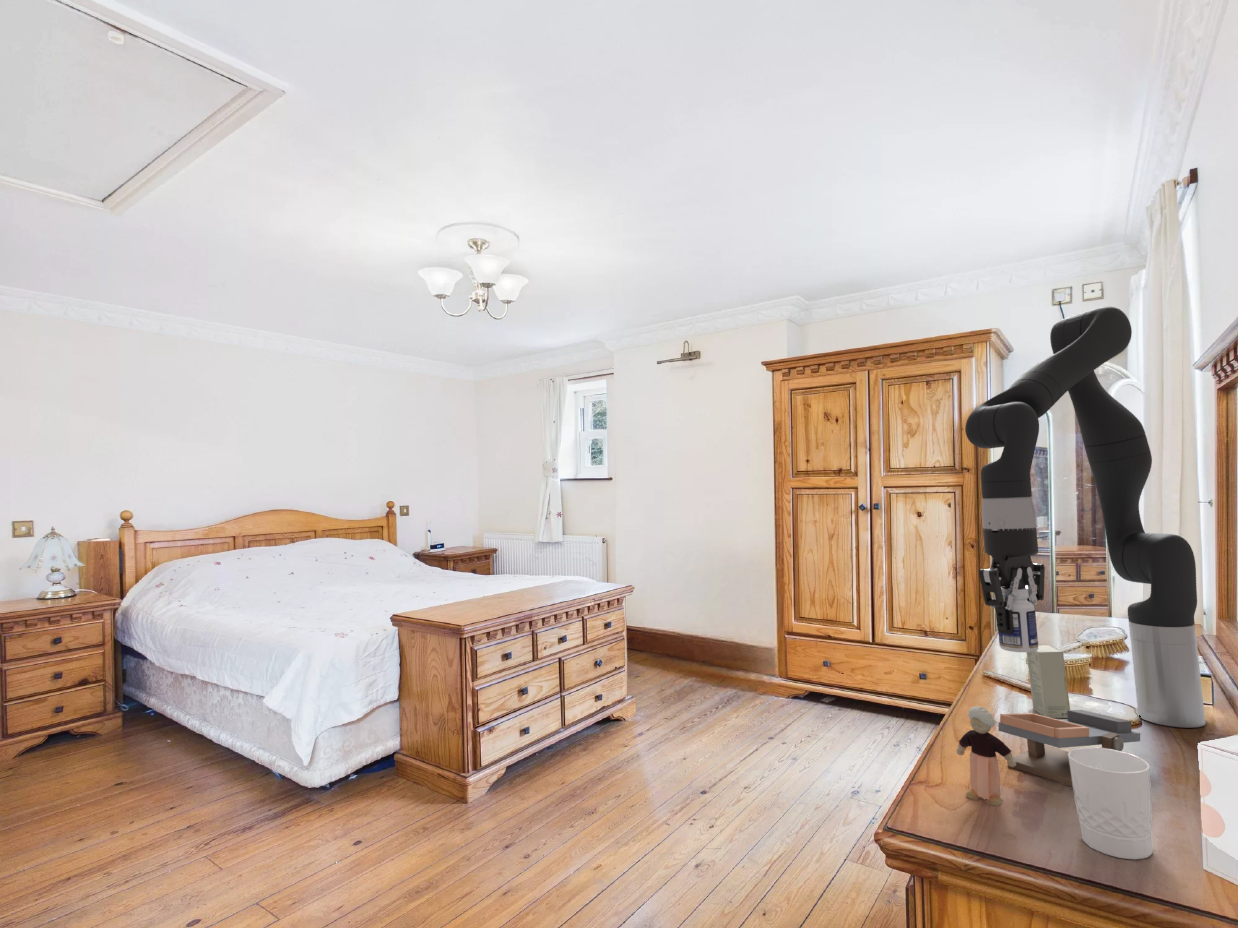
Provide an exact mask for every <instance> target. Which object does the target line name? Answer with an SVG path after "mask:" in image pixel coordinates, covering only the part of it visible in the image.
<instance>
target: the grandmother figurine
mask: <svg viewBox="0 0 1238 928" xmlns="http://www.w3.org/2000/svg"><path fill="white" fill-rule="evenodd" d="M967 716H968V718H969V720H970V726H971V730H968V731H967V732H966V733H964V735H963V736H962V737H961V738H960V739H959V740H958V744H957V748H956V754H957V755H958V756H964V755H965V751H966V750H967V748H968V747H971V751H970V754H969V774H970V775H969V777H970V778H969V781H970V783H969V784H970V789H968V790H967V791H966V792H965V797H966V798H968V799H970V800H980V799H983V800H984V802H985V803H986V804H987V805H991V806H994V807H995V806H996V807H997V806H1001V805H1002V802H1003V799H1002V797H1001V773H1000V767H999V760H998V757H997V754H999V755H1000V756H1001V757H1003V758H1004V760H1005V761H1007V762H1006V763H1007V766H1008V765H1009V766H1008V767H1011V768H1013V767H1015V766H1016V762H1015V761H1014V759H1013V757H1014V756H1013V754H1012V753H1011V752H1012V750H1011V749H1010V747H1008V746H1007V744H1005V743H1004V742H1003V741H1002V740H1001V739H999V737H996V736H995V735H994V734H991V732H990V731H991V730H992V728H993V727H994V726H995V725H996V724H997V721H996V720H995V717H994V716H993V714H992V713H991V712H990V711H989V710H987V709H986V708H985V707H983V706H972V707H970V708H969V710H968V715H967Z"/></svg>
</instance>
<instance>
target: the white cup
mask: <svg viewBox="0 0 1238 928" xmlns="http://www.w3.org/2000/svg"><path fill="white" fill-rule="evenodd" d="M1068 759H1069V765H1070V772H1071V779H1072V785H1073V787H1072V790H1073V798H1074V804H1075V807H1076V815H1077V817H1078V821H1079V825H1080V833H1081V838H1082V839H1081V840H1082V841H1083V842H1084V844H1086V845H1087V846H1089V847H1090V848H1091V849H1093V850H1094V851H1097V852H1099V853H1102V854H1104V855H1107V856H1112V857H1115V858H1119V859H1126V860H1143V859H1147V858H1148V857H1150V856H1151V855H1152V854H1153V840H1152V828H1153V817H1152V816H1153V815H1152V814H1153V809H1152V806H1153V805H1152V804H1153V803H1152V785H1151V767H1150V764H1149V762H1147V761H1146V760H1145V759H1143V758H1141V757H1140V756H1137V755H1134V754H1132V753H1129V752H1125V751H1123V750H1122V751H1118V750H1113V749H1107V748H1102V747H1095V746H1094V747H1093V746H1092V747H1091V746H1081V747H1076V748H1073V749H1071V750H1069V751H1068Z"/></svg>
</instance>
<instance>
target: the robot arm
mask: <svg viewBox="0 0 1238 928" xmlns="http://www.w3.org/2000/svg"><path fill="white" fill-rule="evenodd" d="M1049 333H1050V335H1049V336H1050V347H1051V350H1052V354H1051V355H1050V356H1049V357H1046V358H1044V359H1043V360H1041V361H1040V362H1037V363H1036V364H1035V365H1033V366H1032V367H1030V368H1029V369H1028V370H1026V371H1025V372H1023V374H1021V375H1020V376H1019V378H1017V379H1016V380H1015V381H1014V382H1013V383H1012V384H1011V385H1010V386H1009V387H1008V388H1007V389H1005V390H1003V391H1002V392H1000V393H997V394H996V395H994V396H992V397H990V398H989V399H987V400H986V401H983V402H982V403H981V404H980V405H978V406H977V407H976V408H975V409H973V411H971V413H970V414H969V416H968V418H967V419H966V422H965V427H964V428H965V429H964V430H965V436H966V437H967V440H968V441H969V442H970V443H971V444H972V446H975V447H977V448H981V449H987V450H988V449H995V448H1003V450H1002V452H1001V455H1000V457H999V458H998V459H996V460H995V461H993V462H989V463H986V464H984V465H983V466H982V467H981V469H980V485H981V497H982V499H981V502H982V504H981V521H982V535H983V548H984V553H985V555H988V556H991V565H990V568H986V569H985V568H984V569H983V568H980V569H979V570H978V575H979V581H980V585H981V589H982V590H981V591H982V595H983V600H984V604H985V605H986V606H988V607H991V608H993V609H994V610H995V617H996V627H997V629H996V630H997V632H998V631H999V632H1000V633H1005V634H1012V633H1013V632H1014V627H1013V615H1012V610H1011V607H1012V601H1013V597H1015V596H1016V595H1017V590H1018V588H1027V589H1028V594H1029V596H1028V597H1029V598H1027V601H1029V602H1031V603H1032V604H1033V605H1034V607H1035V608H1036V606H1037V605H1038V602H1039V601H1043V600H1044V598H1045V570H1046V567H1045V564H1044V563H1033V561H1032V558H1031V557H1032V556H1036V555H1038V553H1039V545H1038V532H1037V531H1038V530H1037V529H1038V528H1037V519H1036V518H1037V517H1036V510H1035V505H1034V500H1033V492H1032V482H1031V480H1032V479H1031V471H1032V470H1031V469H1032V465H1033V460H1034V455H1035V452H1036V451H1035V450H1036V448H1037V447H1036V446H1037V443H1038V438H1039V433H1040V420H1039V419H1040V418H1041V417H1044V415H1045V414H1047V412H1049V410H1050V409H1051V408H1052V407H1053V406H1054V405H1055V404H1056V403H1057V402H1058V401H1059V400H1060V399H1061V398H1062V397H1063V396H1064V395H1065V394H1066V393H1068V394H1069V397H1070V400H1071V402H1072V407H1073V410H1074V412H1075V413H1074V414H1075V416H1076V418H1077V419H1076V420H1077V423H1078V426H1079V429H1080V434H1081V438H1082V439H1081V440H1082V443H1083V448H1084V451H1085V454H1086V457H1087V460H1088V465H1089V467H1090V470H1091V473H1092V476H1093V480H1094V483H1095V487H1096V488H1095V489H1096V491H1097V496H1098V499H1099V504H1100V507H1101V513H1102V519H1103V524H1104V531H1105V537H1106V538H1105V539H1106V544H1107V549H1108V554H1109V558H1110V561H1111V564H1112V567H1113V569H1114V571H1115V572H1116V574H1117V575H1118V576H1119V577H1120V578H1121V579H1124V580H1125V581H1128V582H1132V583H1139V584H1148V585H1150V595H1149V597H1148V598H1146V599H1145V600H1142V601H1139V602H1134V603H1132V604H1129V605H1128V607H1127V618H1128V629H1129V637H1130V639H1129V640H1130V649H1131V657H1132V658H1131V659H1132V665H1133V667H1132V669H1133V676H1134V687H1135V695H1136V704H1137V705H1136V707H1137V714H1139V715H1140V716H1141V717H1140V718H1141V719H1142V720H1145V721H1146V722H1150V723H1152V724H1156V725H1163V726H1167V727H1173V728H1185V729H1186V728H1188V729H1189V728H1201V727H1204V726H1205V725H1206V716H1205V707H1204V697H1203V695H1204V694H1203V688H1202V687H1203V685H1202V680H1201V679H1202V677H1201V676H1202V675H1201V668H1200V661H1199V658H1200V657H1199V651H1198V642H1197V634H1196V632H1197V631H1196V626H1195V625H1196V624H1195V623H1196V622H1195V615H1196V614H1195V613H1196V610H1197V606H1198V595H1197V594H1198V593H1197V569H1196V568H1197V566H1196V559H1195V558H1196V557H1195V554H1194V551H1193V548H1192V546H1191V545H1190V544H1189V542H1188V541H1187V539H1185V538H1183V537H1182V536H1180V535H1177V534H1171V533H1150V532H1148V533H1147V532H1146V531H1145V530H1144V527H1143V523H1142V519H1141V514H1140V501H1141V500H1140V499H1141V495H1142V494H1143V493H1142V492H1143V491H1144V488H1145V485H1146V483H1147V481H1148V478H1149V475H1150V474H1151V473H1150V472H1151V469H1152V464H1153V459H1152V457H1153V456H1152V452H1151V448H1150V445H1149V441H1148V437H1147V435H1146V431H1145V428H1144V426H1143V424H1142V422H1141V421H1140V420H1139V419H1138V417H1137V416H1136V415H1134V413H1132V412H1131V411H1130V410H1129V409H1128V408H1127V407H1125V406H1124V405H1123V404H1122V403H1120V401H1118V400H1117V399H1116V398H1114V397H1113V396H1112V395H1111V394H1110V393H1109V392H1108V391H1107V390H1106V389H1105V388H1104V386H1102V384H1101V382H1100V381H1099V379H1098V377H1097V374H1096V373H1095V370H1097V369H1098V368H1099V367H1101V366H1102V365H1103V364H1106V362H1108V361H1110V360H1112V359H1113V358H1115V357H1116V356H1118V355H1119V354H1121V353H1122V352H1124V351H1125V350H1126V349H1127V348H1128V346H1129V344H1130V342H1131V340H1132V333H1133V331H1132V325H1131V321H1130V320H1129V317H1128V316H1127V315H1126V313H1125V312H1124V311H1122V310H1121V309H1120V308H1117V307H1115V306H1100V307H1097V308H1094V309H1090V310H1087V311H1083V312H1081V313H1078V314H1074V315H1072V316H1069V317H1066V318H1062V319H1060V320H1058V321H1056V322H1055V323H1054V324H1053V326H1052V328H1051V329H1050V332H1049ZM1001 588H1003V589H1001ZM1035 591H1036V592H1035ZM992 593H993V596H992ZM1003 595H1005V596H1006V597H1005V601H1004V599H1003ZM1035 615H1036V612H1035Z"/></svg>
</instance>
